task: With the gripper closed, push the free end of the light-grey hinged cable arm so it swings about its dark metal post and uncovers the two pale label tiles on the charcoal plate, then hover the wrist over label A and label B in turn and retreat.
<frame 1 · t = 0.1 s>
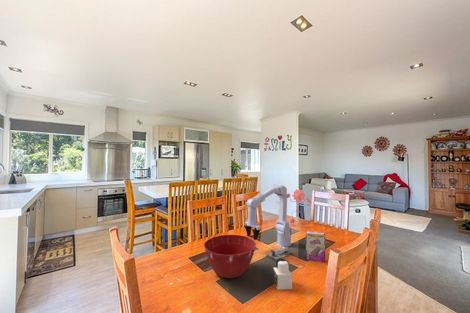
hand: (252, 237, 138), 10 cm above the table, fingers open, 7 cm apart
medicine bottle: (282, 285, 101), on the table
cable arm: (279, 250, 134), point 3 cm above the table, hinge at 0.0°
candy bar box: (315, 260, 128), on the table
pivot base: (285, 253, 137), on the table
figurine: (298, 225, 203), on the table
label a: (280, 254, 135), resting on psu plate
mixing bowl: (229, 272, 113), on the table
label b: (274, 256, 132), resting on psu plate
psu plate: (276, 256, 133), on the table
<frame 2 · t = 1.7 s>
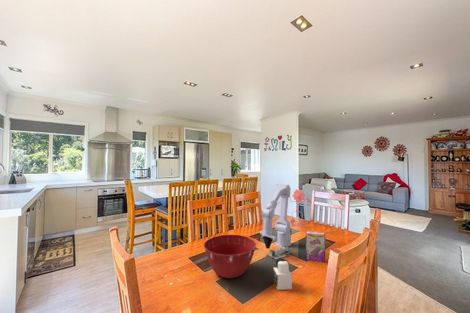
hand: (267, 248, 137), 4 cm above the table, fingers closed
nothing on the table moved.
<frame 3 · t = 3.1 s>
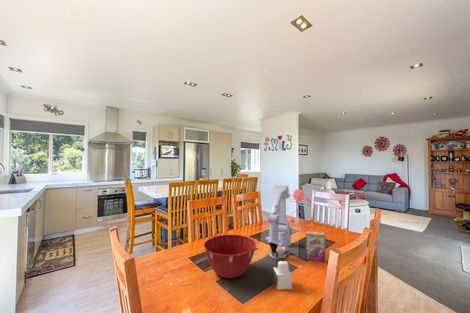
hand: (273, 254, 132), 2 cm above the table, fingers closed, pressing on cable arm
cable arm: (280, 251, 133), point 3 cm above the table, hinge at 13.3°, touching gripper
everything else where it was.
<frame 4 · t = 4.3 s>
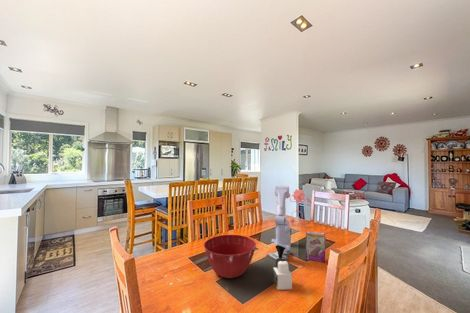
hand: (280, 257, 128), 1 cm above the table, fingers closed, pressing on cable arm
cable arm: (285, 252, 132), point 3 cm above the table, hinge at 46.1°, touching gripper
everything else where it was.
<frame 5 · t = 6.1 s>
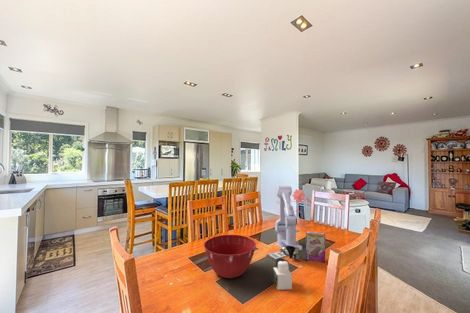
hand: (291, 258, 127), 2 cm above the table, fingers closed
cable arm: (290, 252, 132), point 3 cm above the table, hinge at 84.1°, touching gripper
everything else where it was.
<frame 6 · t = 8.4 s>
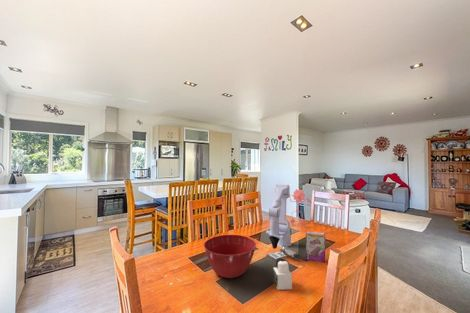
hand: (274, 248, 132), 5 cm above the table, fingers closed
cable arm: (290, 252, 132), point 3 cm above the table, hinge at 84.3°
everything else where it was.
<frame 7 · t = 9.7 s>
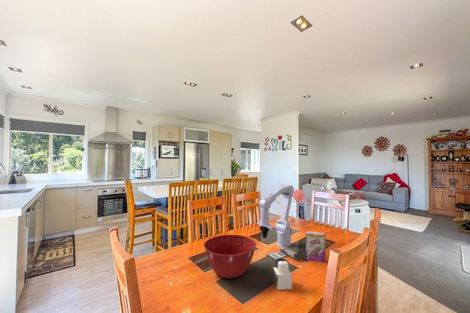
hand: (264, 237, 140), 9 cm above the table, fingers closed
nothing on the table moved.
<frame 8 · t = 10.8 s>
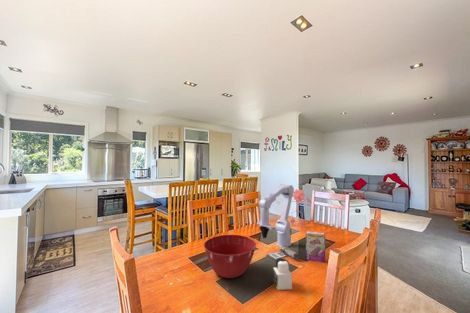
hand: (264, 237, 140), 9 cm above the table, fingers closed
nothing on the table moved.
at the end: cable arm at +84° (first picture: +0°); the gripper is holding nothing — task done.
